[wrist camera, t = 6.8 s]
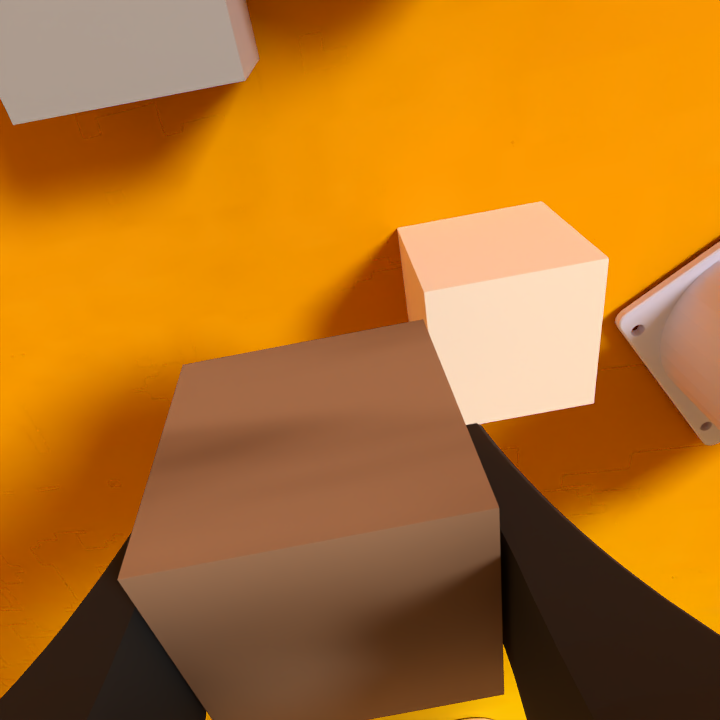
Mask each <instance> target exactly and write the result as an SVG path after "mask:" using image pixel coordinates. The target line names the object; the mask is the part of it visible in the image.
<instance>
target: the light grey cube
mask: <svg viewBox="0 0 720 720" xmlns="http://www.w3.org/2000/svg"><path fill="white" fill-rule="evenodd" d="M258 60H259V55H258V50H257V46H256V42H255V37H254V33H253V29H252V24H251V20H250V16H249V11H248V7H247V3H246V0H0V99H1V101H2V103H3V105H4V107H5V109H6V111H7V113H8V115H9V117H10V119H11V122H12V124H13V125H16V124H21V123H27V122H32V121H37V120H42V119H48V118H53V117H58V116H63V115H68V114H74V113H79V112H84V111H89V110H94V109H100V108H105V107H110V106H115V105H121V104H126V103H131V102H136V101H141V100H147V99H152V98H157V97H162V96H167V95H173V94H178V93H183V92H188V91H194V90H199V89H204V88H209V87H214V86H220V85H225V84H230V83H235V82H240V81H245V80H246V79H247V77H248V76H249V74H250V73H251V71H252V70H253V68H254V66H255V65H256V63H257V62H258Z"/></svg>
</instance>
